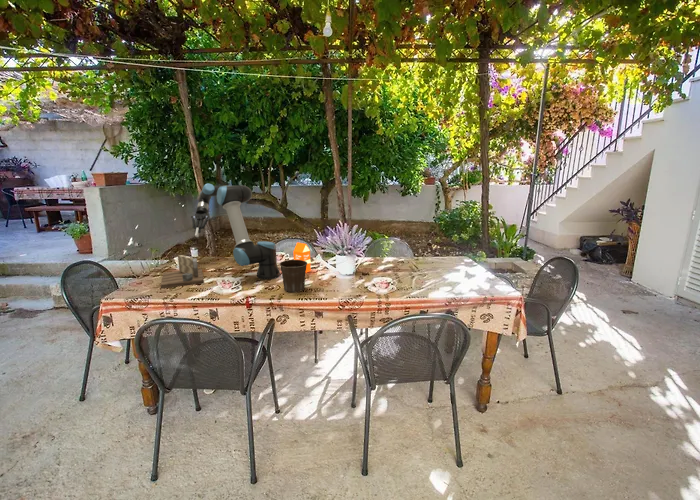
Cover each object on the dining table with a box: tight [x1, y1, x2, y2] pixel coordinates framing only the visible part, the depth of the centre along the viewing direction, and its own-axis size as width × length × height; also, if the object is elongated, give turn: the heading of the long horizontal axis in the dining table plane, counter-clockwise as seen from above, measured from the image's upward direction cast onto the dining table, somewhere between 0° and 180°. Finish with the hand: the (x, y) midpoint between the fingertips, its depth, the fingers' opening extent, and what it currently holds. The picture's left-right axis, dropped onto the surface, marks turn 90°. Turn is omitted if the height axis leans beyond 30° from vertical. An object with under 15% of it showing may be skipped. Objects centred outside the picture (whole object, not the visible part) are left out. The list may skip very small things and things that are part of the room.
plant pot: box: [279, 259, 307, 293], centre depth 217 cm, size 16×16×16 cm
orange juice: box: [292, 242, 312, 274], centre depth 253 cm, size 8×9×20 cm
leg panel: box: [177, 254, 194, 276], centre depth 241 cm, size 17×2×11 cm, turn 54°
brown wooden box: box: [160, 257, 205, 289], centre depth 236 cm, size 28×24×14 cm
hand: (196, 236), depth 259 cm, fingers closed
